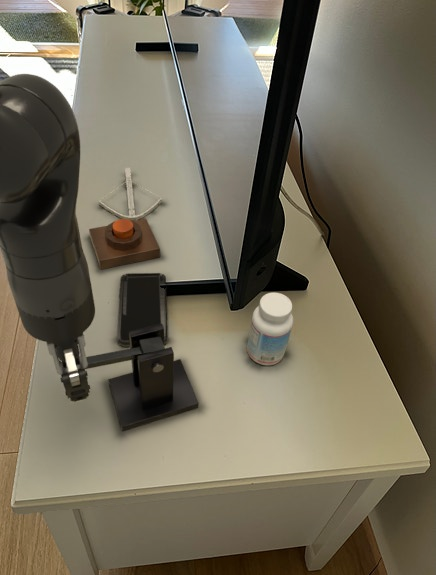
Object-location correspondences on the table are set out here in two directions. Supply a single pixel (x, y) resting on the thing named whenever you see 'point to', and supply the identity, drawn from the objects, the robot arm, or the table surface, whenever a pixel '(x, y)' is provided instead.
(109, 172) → the table surface
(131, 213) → the crossbow
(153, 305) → the phone
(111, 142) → the table surface
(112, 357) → the lever
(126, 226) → the button
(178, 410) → the bracket
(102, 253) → the button block
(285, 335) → the pill bottle
